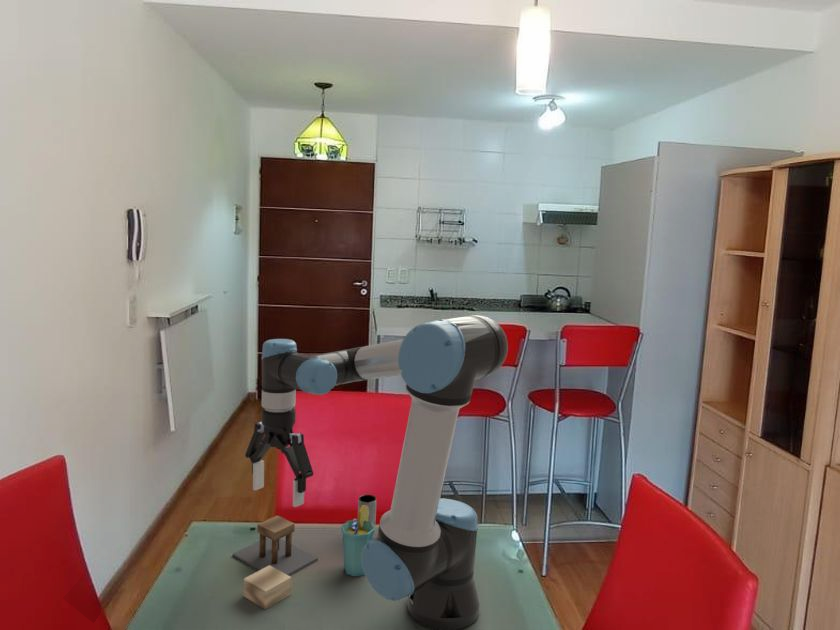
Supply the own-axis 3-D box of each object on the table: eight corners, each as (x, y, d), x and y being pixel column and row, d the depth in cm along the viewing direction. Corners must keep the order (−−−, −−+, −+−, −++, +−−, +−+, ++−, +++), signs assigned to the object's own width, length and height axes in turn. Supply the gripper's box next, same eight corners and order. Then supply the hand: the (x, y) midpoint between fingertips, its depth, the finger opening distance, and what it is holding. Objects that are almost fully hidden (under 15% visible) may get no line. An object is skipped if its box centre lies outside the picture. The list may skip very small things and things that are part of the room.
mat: (317, 560, 151) (317, 557, 151) (278, 581, 142) (279, 579, 142) (272, 537, 161) (272, 534, 161) (232, 556, 151) (232, 553, 151)
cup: (367, 591, 140) (370, 527, 138) (332, 587, 141) (334, 523, 138) (376, 557, 154) (379, 498, 152) (344, 554, 154) (346, 495, 152)
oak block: (291, 594, 137) (291, 577, 137) (265, 609, 132) (265, 591, 131) (269, 582, 141) (269, 565, 141) (243, 596, 136) (243, 578, 135)
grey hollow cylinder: (367, 530, 167) (369, 492, 165) (378, 537, 163) (380, 499, 162) (353, 535, 164) (354, 497, 162) (363, 542, 161) (365, 503, 159)
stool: (293, 555, 152) (294, 523, 150) (274, 565, 147) (274, 532, 146) (276, 546, 155) (277, 515, 154) (256, 556, 150) (257, 524, 149)
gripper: (330, 415, 141) (328, 506, 144) (255, 393, 156) (255, 477, 159) (305, 423, 135) (303, 518, 138) (230, 400, 150) (230, 486, 153)
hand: (277, 496), depth 149 cm, fingers open, 13 cm apart
